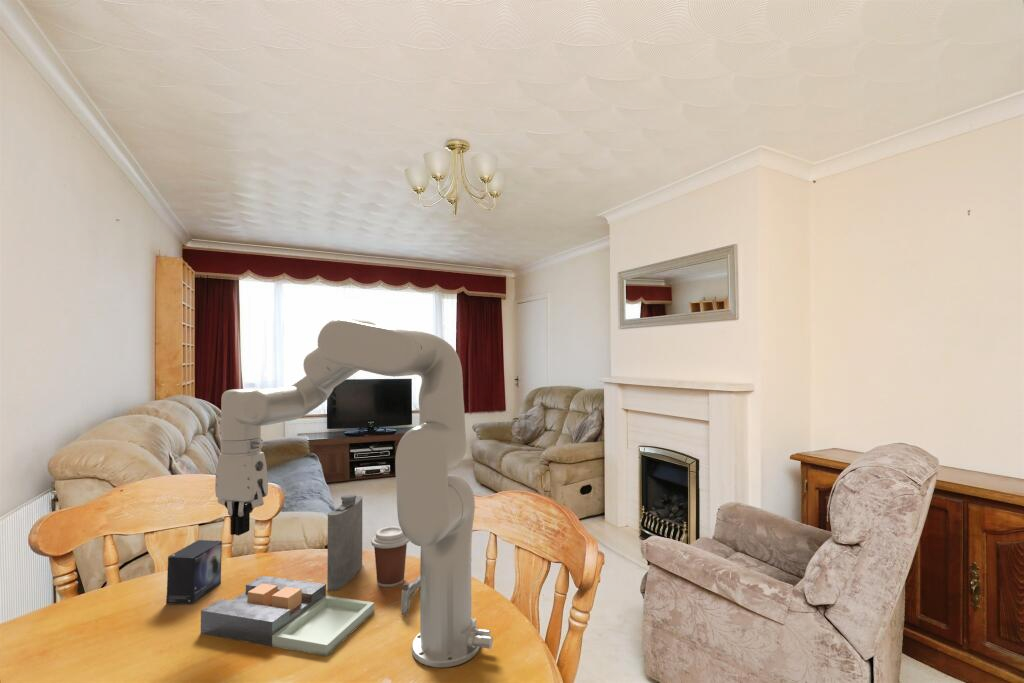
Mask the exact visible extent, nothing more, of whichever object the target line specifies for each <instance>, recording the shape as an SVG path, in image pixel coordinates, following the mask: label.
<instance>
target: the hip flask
mask: <svg viewBox="0 0 1024 683" xmlns="http://www.w3.org/2000/svg"><path fill="white" fill-rule="evenodd" d="M340 500H341V505H339V506H338V507H336V508H335V509H334V510H332V511H329V512H328V513H327V584H326V590H327V591H332V592H333V591H338V590H341V589H342V588H343V587H344V586H345V585H347V584H348V583H349V582H350V581H351V580H352V579H353V578H354V577H355V576H356V575H357V574H358V573H359V571H360V569H361V568H362V566H363V496H361V495H357V494H356V493H344V494H341V497H340Z"/></svg>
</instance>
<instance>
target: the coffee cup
mask: <svg viewBox="0 0 1024 683" xmlns="http://www.w3.org/2000/svg"><path fill="white" fill-rule="evenodd" d="M408 543H410V541H409V540H408V539H407V538H406V537H405V536H404V534H403V532H402V530H401V528H400V526H385V527H381V528H380V529H378V530H377V531H376V532H375V535H374V536H373V537H372V539H371V542H370V544H371V546H372V547H373V548H374V559H375V561H374V562H375V570H376V572H375V573H376V574H375V575H376V584H377V585H378V586H379V587H382V588H392V587H393V588H394V587H397V586H399V585H401V584H403V583H404V581H405V573H406V572H405V571H406V570H405V569H406V558H407V546H408Z"/></svg>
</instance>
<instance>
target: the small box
mask: <svg viewBox="0 0 1024 683" xmlns="http://www.w3.org/2000/svg"><path fill="white" fill-rule="evenodd" d="M222 549H223V541H222V540H210V539H209V540H208V539H206V540H205V539H198V540H196V541H195V542H192V543H190V544H189V545H187V546H185V547H184V548H181V549H179V550H177V551H176V552H174V553H172V554H170V555H168V556H167V576H166V577H167V579H166V580H167V581H166V598H165V599H166V600H165V601H166V602H165V603H166V604H168V605H169V604H173V605H176V604H177V605H193V604H195V603H196V602H197V601H199V600H200V599H201V598H202V597H204V596H205V595H206V594H208V593H209V592H211V591H212V590H213V589H215V588H217V587H218V586H219V585H221V583H222V580H221V579H222V553H223V550H222Z"/></svg>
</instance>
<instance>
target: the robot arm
mask: <svg viewBox="0 0 1024 683" xmlns="http://www.w3.org/2000/svg"><path fill="white" fill-rule="evenodd" d="M302 366H303V371H304V373H305V376H304V377H302V378H300V379H299V380H298V381H296V382H295V383H294V384H291V385H290V386H287V387H285V386H283V387H273V388H262V389H255V388H236V389H235V388H233V389H228V390H225V391H224V392H223V393H222V395H221V400H220V402H221V409H220V411H221V412H220V413H221V414H220V415H221V416H220V453H219V455H218V459H217V464H216V469H215V470H216V472H215V485H214V488H215V491H214V492H215V497H216V498H217V503H218V504H220V505H222V506H224V507H225V508H226V510H227V514H228V515H229V516H230V535H231V536H234V535H235V536H238V537H239V536H241V535H243V534H245V533H248V532H249V531H250V527H251V526H250V520H251V519H250V517H251V516H250V515H251V513H252V512H253V510H254V509H255V508H258V507H261V506H264V498H265V497H267V496H268V491H269V484H268V483H269V482H268V480H269V478H268V470H267V469H268V468H267V466H268V465H267V461H266V456H265V453H264V451H261V450H262V448H263V447H264V442H262V440H261V435H262V433H261V432H262V426H269V425H274V424H279V423H286V422H290V421H295V420H299V419H301V418H303V417H304V416H306V415H308V414H309V413H310V412H312V411H313V410H315V409H316V408H318V407H319V406H321V405H322V404H323V403H325V402H326V401H327V400H328V399H329V397H330V396H331V395H332V393H333V391H334V389H335V388H336V387H337V386H338V385H340V384H342V383H343V382H344V381H346V380H347V379H349V378H350V377H352V376H353V375H355V374H356V373H357V372H359V371H363V372H367V373H373V374H376V375H381V376H388V377H394V378H396V377H407V376H413V375H417V376H419V377H420V378H421V385H420V388H419V394H418V410H419V411H418V412H419V417H418V418H419V424H418V425H416V426H414V427H412V428H410V429H409V430H407V431H406V432H404V434H403V435H402V437H401V439H400V440H399V442H398V445H397V447H396V452H395V462H394V463H395V489H396V509H397V510H396V511H397V519H398V525H399V527H400V528H401V530H402V532H403V534H404V536H405V537H406V538H407V539H408V540H409V543H411V544H414V545H415V546H418V547H420V565H419V566H420V567H419V568H420V569H419V570H420V571H419V572H420V575H419V576H420V586H419V587H420V589H419V590H420V591H419V592H420V593H419V594H420V595H419V597H420V601H419V602H420V605H419V606H420V607H419V608H420V609H419V610H420V611H419V612H420V621H419V624H420V627H419V629H420V631H419V633H418V634H416V636H415V637H414V638H413V640H412V643H411V654H412V655H413V658H414V659H415V660H416V661H418V662H419V663H421V664H422V665H425V666H428V667H433V668H450V667H456V666H459V665H461V664H465V663H466V662H468V661H470V660H472V658H473V657H475V656H476V654H477V653H478V652H479V650H480V648H481V649H482V648H483V649H490V650H491V649H492V647H493V644H494V643H493V642H494V638H493V636H491V630H490V629H485V628H479V626H477V618H476V617H472V543H473V541H472V540H473V539H472V538H473V529H474V526H473V525H474V518H475V506H476V505H475V504H476V502H475V495H474V491H473V489H472V487H471V485H470V484H469V482H468V481H467V480H466V479H464V478H463V477H461V476H459V475H456V474H449V470H451V469H453V468H455V467H456V466H457V465H458V464H460V463H462V461H463V460H464V458H465V456H466V451H467V435H466V432H467V431H466V417H465V402H464V401H465V400H464V386H463V385H464V382H463V380H464V378H463V368H462V364H461V359H460V357H459V355H458V353H457V351H456V350H455V349H454V347H453V346H452V345H451V344H450V343H449V342H448V341H446V340H444V339H443V338H441V337H439V336H436V335H434V334H432V333H429V332H424V331H417V330H406V329H405V330H404V329H396V328H389V327H384V326H378V325H376V324H375V323H374V322H371V321H368V320H364V319H363V320H362V319H356V318H355V319H354V318H348V317H347V318H346V317H345V318H344V317H340V318H335V319H333V320H330V321H329V322H327V323H326V324H325V325H324V326H323V327H322V328H321V330H320V331H319V333H318V337H317V348H315V349H314V350H312V351H311V352H310V353H309V354H307V355H306V356H305V358H304V360H303V365H302Z"/></svg>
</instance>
